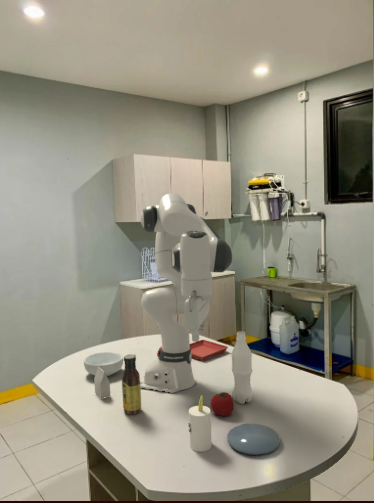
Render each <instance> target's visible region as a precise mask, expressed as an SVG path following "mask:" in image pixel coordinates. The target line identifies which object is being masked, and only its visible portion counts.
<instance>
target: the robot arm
mask: <svg viewBox="0 0 374 503" xmlns="http://www.w3.org/2000/svg"><path fill="white" fill-rule="evenodd" d="M158 202H159V203H158V204H155V205H154V204H151V205H147V206H145V207H144V208H143V209H142V210H141V213H140V223H141V226H142V229H143V231H145V232H147V233H156V234H155V248H154V252H155V260H156V261H155V262H156V263H155V264H156V271H157V274H158V275H159V276H160V277H162V278H164V279H166V280H168V281H170V282H171V283H172V284H173V286H171V287H158V288H157V287H156V288H153V289H149V290H146V291H145V292H144V293H143V295H142V296H141V299H140V300H141V301H140V304H141V309H142V311H143V313H145V314H146V315H147V316H149V317H150V318H151V319H152V320H153V321H155V323H156V324H157V327H158V328H159V330H160V331H159V332H160V337H161V339H160V340H161V345H160V346H159V348H158V350H157V352H156V356H157V358H156V359H154V360H153V361H151V363H149V364H148V365H147V367H146V368H145V372H144V375H143V376H142V377H141V378H140V389H142V388H145V389H144V390H149V389H153V390H152V391H155V390H158V391H157V392H162V391H165V392H164V393H168V392H170V394H174V393H177V392H179V391H183V390H187V389H190V388H192V387H193V386H195V384H196V380H195V376H194V372H193V368H192V358H193V357H192V354H191V348H190V344H191V342H190V334H191V340H192V343H194V342H198V341H200V333H204V332H205V331H206V319H207V316H208V314H209V313H210V310H211V296H212V295H213V293H214V292H213V276H212V273H224V272H225V271H227V269H228V268H229V267H230V265H232V261H233V253H232V249H231V247H230V245H229V244H228V243H227V242H226V240H224V239H223V238H221V237H220V235H218V233H217V232H216V231H215V229H214V228H213V227H212V226H211V225H210V224H209V222H208V221H207V220H206V219H205V218H203V217H201V216H199V215H198V214H197V211H196V207H194V205H193V204H190V203H187V202H186V201H185V199H184V198H183V197H182V196H181V195H179V194H178V193H176V192H175V193H174V192H169V193H167V194H164V195H163V196H162V197H161V198H160V200H159V201H158ZM177 315H184V324H183V323H181V322H179V321H177V320H175V319H174V316H177ZM190 332H191V333H190Z"/></svg>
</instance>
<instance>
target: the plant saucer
mask: <svg viewBox="0 0 374 503" xmlns="http://www.w3.org/2000/svg"><path fill="white" fill-rule="evenodd" d="M190 348H191V354H192V358H194V359H196V360H198V361H199V360H200V361H202V362H203V361H206V360H208V359H212V358H214V357H217V356H219V355H221V354H224V353H225V352H226V351H227V349H228V348H229V346H227V345H223V344H221V343H220V344H219V343H216V342H213V341H210V340H206V339H199V341H198V342H192V343H191V342H190Z"/></svg>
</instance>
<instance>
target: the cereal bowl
mask: <svg viewBox="0 0 374 503" xmlns="http://www.w3.org/2000/svg"><path fill="white" fill-rule="evenodd" d="M83 365H84V370H85V371H86V372H87V373H88V374H90V375H92V376H95V375H96V372H97V369H98V367H100V368H101V369H102V370H103V371H104V372H105V374H106V376H107V377H110V376H112V375H113V374H116V373H117V372H119V371H120V370H121V369H122V367H123V365H124V355H123V354H122V353H119V352H114V351H104V352H96V353H93V354H90V355H87V356H86V357H85V358H84V360H83ZM109 375H110V376H109Z"/></svg>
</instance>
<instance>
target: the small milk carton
mask: <svg viewBox="0 0 374 503" xmlns="http://www.w3.org/2000/svg"><path fill="white" fill-rule="evenodd" d="M93 380H94V394H95V393H96V394H97V395H98V396H99V397H100V398H101V399H100V398H99V397H98V396H97V395H96V394H95V395H96V396H97V397H98V398H99V399H100V400H103V399H102V398H104V397H108V396H110V397H111V385H110V379H109V378H108V376H106V374H105V372H104V371H103V370H102V369H101V368H100V367H98V369H97V372H96V375H94V378H93ZM108 398H109V397H108Z"/></svg>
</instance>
